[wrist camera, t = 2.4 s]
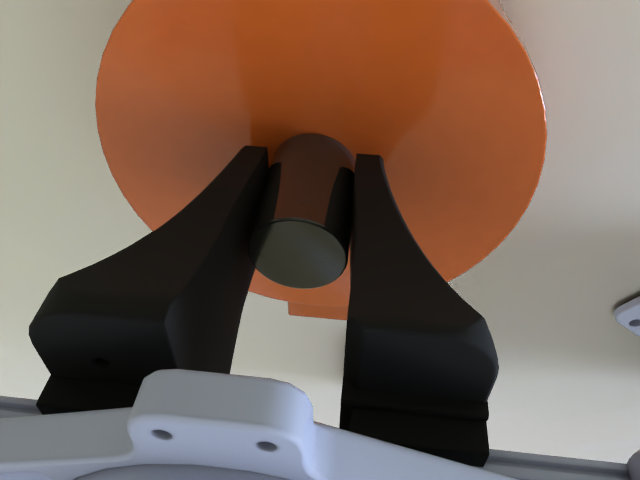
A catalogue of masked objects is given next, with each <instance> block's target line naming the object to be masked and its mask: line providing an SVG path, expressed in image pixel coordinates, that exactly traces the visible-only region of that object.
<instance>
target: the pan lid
mask: <svg viewBox="0 0 640 480" xmlns="http://www.w3.org/2000/svg"><path fill="white" fill-rule="evenodd" d="M95 106H96V117H97V127H98V133H99V137H100V141H101V145H102V149H103V153H104V155H105V158H106V160H107V163H108V165H109V168H110V170H111V173H112V175H113V177H114V179H115V181H116V183H117V184H118V186H119V188H120V190H121V192H122V193H123V195H124V197H125V198H126V199H127V201H128V202H129V204H130V205H131V206H132V208H133V209H134V211H135V212H136V213H137V215H138V216H139V217H140V218H141V219H142V220H143V221H144V222H145V224H146V225H147V226H148V227H149V228H150V229H151V230H152V231H154V230H156V229H157V228H159V227H160V226H162V225H163V224H164V223H166V222H167V221H168V220H170V219H171V218H172V217H174V216H175V215H176V214H177V213H178V212H180V211H181V210H182V209H183V208H184V207H185V206H187V205H188V204H189V203H190V202H191V201H192V200H193V199H194V198H195V197H196V196H198V195H199V194H200V193H201V192H202V191H203V190H204V189H205V188H206V187H207V186H208V185H209V184H210V183H211V182H212V181H213V180H214V179H215V178H216V176H217V175H218V174H219V173H220V172H221V171H222V170H223V169H224V168H225V167H226V166H227V165H228V163H229V162H230V161H231V160H232V159H233V158H234V157H235V155H236V154H237V153H238V152H239V151H240V150H241V149H242V148H243V147H244V146H245V145H247V146H261V147H267V148H268V162H269V171H268V174H267V178H266V181H265V185H264V188H263V192H262V195H261V199H260V202H259V206H258V209H257V213H256V216H255V220H254V223H253V227H252V230H251V234H250V237H249V241H248V254H249V257H250V260H251V262H252V264H253V265H254V267H255V271H254V274H253V277H252V281H251V284H250V287H249V290H248V291H250V292H253V293H256V294H260V295H263V296H266V297H270V298H274V299H278V300H283V301H288V302H292V303H300V304H307V305H316V306H335V307H339V306H349V298H350V237H351V228H352V213H353V184H354V168H355V161H356V154H357V153H358V154H372V155H380V156H381V157H382V158H383V161H384V168H385V172H386V176H387V179H388V183H389V186H390V189H391V191H392V194H393V196H394V199H395V201H396V204H397V206H398V208H399V210H400V213H401V215H402V217H403V219H404V221H405V223H406V225H407V226H408V228H409V230H410V232H411V234H412V235H413V237H414V239H415V240H416V242H417V244H418V245H419V247H420V248H421V250H422V251H423V253H424V254H425V256H426V257H427V258H428V260H429V261H430V263H431V264H432V265H433V266H434V268H435V269H436V270H437V271H438V272H439V274H440V275H441V276H442V277H443V278H444V280H445V281H446V282H448V281H450V280H452V279H454V278H456V277H457V276H459V275H461V274H463V273H465V272H466V271H468V270H469V269H470V268H472V267H473V266H475V265H476V264H477V263H479V262H480V261H482V260H483V259H484V258H485V257H486V256H488V255H489V254H490V253H491V252H492V251H493V250H494V249H495V248H496V247H498V246H499V245H500V244H501V243H502V241H503V240H504V239H505V238H506V237H507V236H508V234H509V233H510V232H511V231H512V230H513V229H514V227H515V226H516V225H517V223H518V221H519V220H520V218H521V217H522V215H523V214H524V212H525V210H526V209H527V207H528V205H529V203H530V201H531V199H532V196H533V194H534V192H535V190H536V187H537V185H538V182H539V178H540V175H541V171H542V167H543V164H544V160H545V150H546V140H547V126H546V111H545V104H544V100H543V96H542V92H541V88H540V84H539V80H538V76H537V73H536V71H535V68H534V66H533V63H532V61H531V59H530V56H529V54H528V52H527V49H526V47H525V45H524V43H523V41H522V40H521V38H520V36H519V35H518V33H517V32H516V30H515V29H514V27H513V25H512V24H511V22H510V21H509V19H508V17H507V16H506V15H505V14H504V13H503V12H502V11H501V9H500V8H499V7H498V6H497V5H496V4H495V3H494V1H493V0H132V1H131V3H130V4H129V5H128V7H127V8H126V10H125V11H124V13H123V14H122V16H121V17H120V19H119V21H118V22H117V24H116V25H115V27H114V28H113V31H112V33H111V35H110V38H109V40H108V42H107V45H106V47H105V50H104V52H103V55H102V59H101V64H100V68H99V72H98V76H97V86H96V102H95Z"/></svg>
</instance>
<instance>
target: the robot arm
mask: <svg viewBox="0 0 640 480" xmlns="http://www.w3.org/2000/svg"><path fill="white" fill-rule="evenodd" d="M268 171H269V162H268V148H267V147H261V146H247V145H245V146H244V147H243V148H242V149H241V150H240V151H239V152H238V153H237V154H236V155H235V157H234V158H233V159H232V160H231V161H230V162H229V163H228V165H227V166H226V167H225V168H224V169H223V170H222V171H221V172H220V173H219V174H218V175H217V176H216V178H215V179H214V180H213V181H212V182H211V183H210V184H209V185H208V186H207V187H206V188H205V189H204V190H203V191H202V192H201V193H200V194H199V195H198V196H196V197H195V198H194V199H193V200H192V201H191V202H190V203H189V204H188V205H187V206H185V207H184V208H183V209H182V210H181V211H180V212H178V213H177V214H176V215H175V216H174V217H172V218H171V219H170V220H168V221H167V222H166V223H164V224H163V225H162V226H160V227H159V228H157V229H156V230H154V231H153V232H151V233H150V234H148V235H146V236H145V237H143V238H142V239H140V240H138V241H137V242H135V243H134V244H132V245H130V246H129V247H127V248H125V249H123V250H121V251H119V252H118V253H116V254H114V255H112V256H110V257H108V258H106V259H104V260H102V261H99V262H97V263H95V264H93V265H91V266H88V267H86V268H83V269H81V270H79V271H76V272H74V273H71V274H69V275H66V276H64V277H61V278H59V279H58V280H57V282H56V283H55V285H54V286H53V288H52V289H51V290H50V292H49V293H48V295H47V297H46V298H45V300H44V302H43V303H42V305H41V307H40V309H39V310H38V312H37V314H36V315H35V317H34V319H33V321H32V322H31V324H30V326H29V336H30V339H31V341H32V344H33V346H34V347H35V349H36V351H37V352H38V354H39V356H40V357H41V359H42V360H43V362H44V364H45V365H46V367H47V369H48V370H49V372H50V374H51V376H50V378H49V380H48V381H47V383H46V385H45V387H44V389H43V391H42V393H41V395H40V397H39V399H38V400H33V399H24V398H15V397H6V396H0V480H640V450H639V451H637V452H636V453H634V454H633V455H632V457H631V458H630V459H629V461H628V462H627V464H622V463H613V462H604V461H595V460H585V459H576V458H567V457H558V456H549V455H539V454H530V453H521V452H512V451H503V450H493V449H489V444H488V434H487V424H486V421H487V420H488V417H489V411H488V402H487V400H488V397H489V395H490V393H491V390H492V388H493V385H494V383H495V381H496V378H497V375H498V369H499V365H498V358H497V354H496V350H495V346H494V343H493V340H492V337H491V334H490V331H489V329H488V326H487V323H486V321H485V319H484V318H483V317H482V316H481V315H480V314H479V313H478V312H477V311H476V310H474V309H473V308H472V307H471V306H470V305H469V304H468V303H466V302H465V301H464V300H463V299H462V298H461V297H460V296H459V295H458V294H457V293H456V292H455V291H454V290H453V289H452V288H451V287H450V286H449V284H448V283H447V282H446V281H445V280H444V278H443V277H442V276H441V275H440V274H439V272H438V271H437V270H436V269H435V268H434V266H433V265H432V264H431V263H430V261H429V260H428V258H427V257H426V256H425V254H424V253H423V251H422V250H421V248H420V247H419V245H418V244H417V242H416V240H415V239H414V237H413V235H412V234H411V232H410V230H409V228H408V226H407V225H406V223H405V221H404V219H403V217H402V215H401V213H400V210H399V208H398V206H397V204H396V201H395V199H394V196H393V194H392V191H391V189H390V186H389V183H388V179H387V176H386V172H385V168H384V161H383V158H382V157H381V156H380V155H372V154H358V153H357V154H356V161H355V168H354V184H353V213H352V228H351V237H350V298H349V306H348V315H347V329H346V344H345V359H344V374H343V385H342V396H341V411H340V427H339V428H336V427H332V426H329V425H325V424H322V423H318V422H315V421H313V406H312V404H311V402H310V400H309V398H308V396H307V395H306V394H305V393H304V392H303V391H301V390H300V389H298V388H297V387H295V386H293V385H292V384H290V383H287V382H283V381H279V380H275V379H271V378H262V377H252V376H242V375H232V374H230V369H231V364H232V359H233V353H234V348H235V343H236V338H237V333H238V328H239V323H240V319H241V314H242V310H243V306H244V303H245V299H246V296H247V293H248V290H249V287H250V284H251V281H252V277H253V274H254V271H255V267H254V265H253V264H252V262H251V260H250V257H249V254H248V241H249V237H250V234H251V230H252V227H253V223H254V220H255V216H256V213H257V209H258V206H259V202H260V199H261V195H262V192H263V188H264V185H265V181H266V178H267V174H268ZM614 316H615V319H616V321H617V322H618V323H620V324H621V325H623V326H624V327H626V328H627V329H629V330H630V331H632V332H633V333H635V334H636V335H637V336H639V337H640V296H639V297H637V298H635V299H633V300H631V301H629V302H627V303H625V304H623V305H621V306H619V307H618V308H617V309H616V310H615V311H614Z"/></svg>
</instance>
